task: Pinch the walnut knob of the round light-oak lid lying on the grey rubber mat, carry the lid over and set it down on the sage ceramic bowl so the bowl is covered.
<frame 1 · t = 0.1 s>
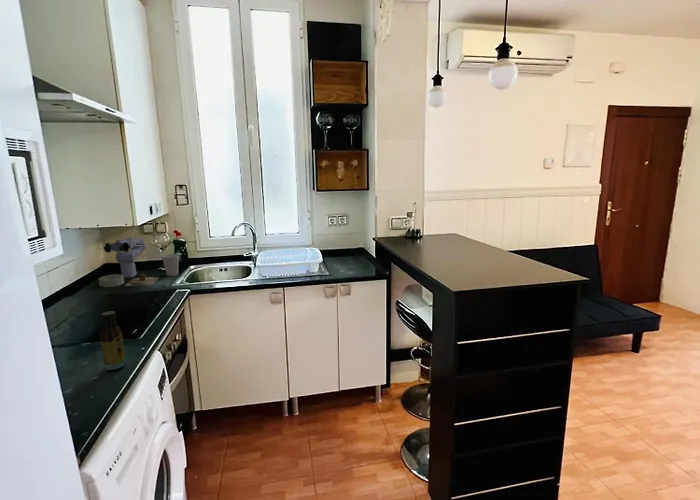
hand: (112, 248, 220), 22 cm above the worktop, tool horizontal, fingers open, 7 cm apart
bowl: (112, 284, 225), on the worktop
sauce bottle: (115, 368, 132), on the worktop
mat: (142, 282, 230), on the worktop
foam cup: (172, 275, 245), on the worktop
lid: (142, 281, 230), resting on mat
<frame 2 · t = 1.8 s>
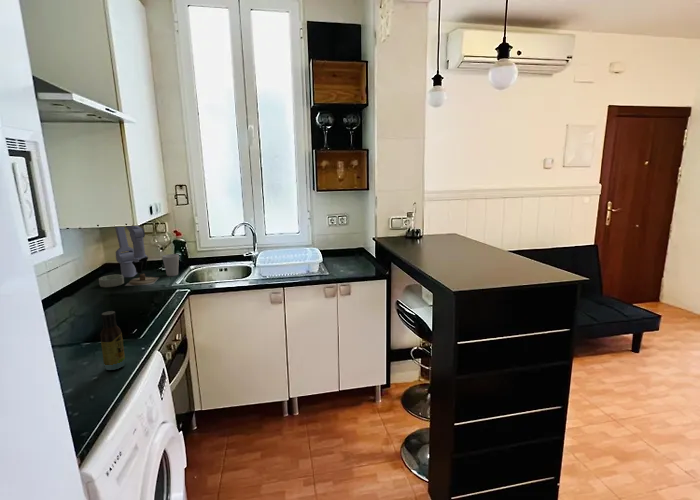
hand: (141, 271, 229), 7 cm above the worktop, tool pointing down, fingers open, 7 cm apart
nothing on the worktop moved.
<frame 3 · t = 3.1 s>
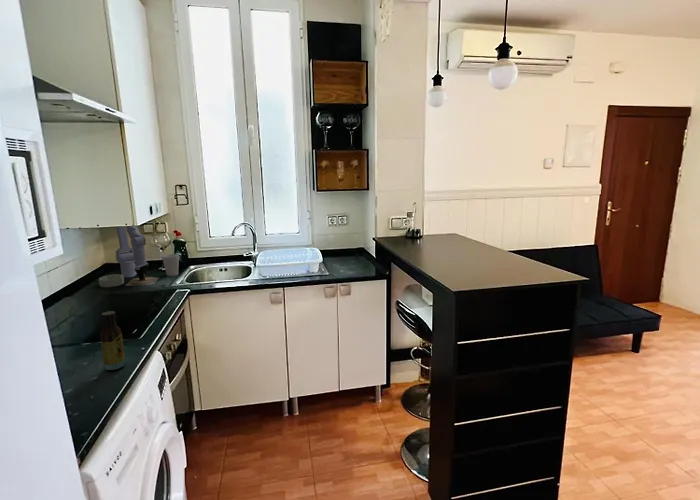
hand: (142, 278, 230), 2 cm above the worktop, tool pointing down, fingers closed on lid, 3 cm apart
lid: (142, 281, 230), resting on mat, touching gripper
everything else where it was.
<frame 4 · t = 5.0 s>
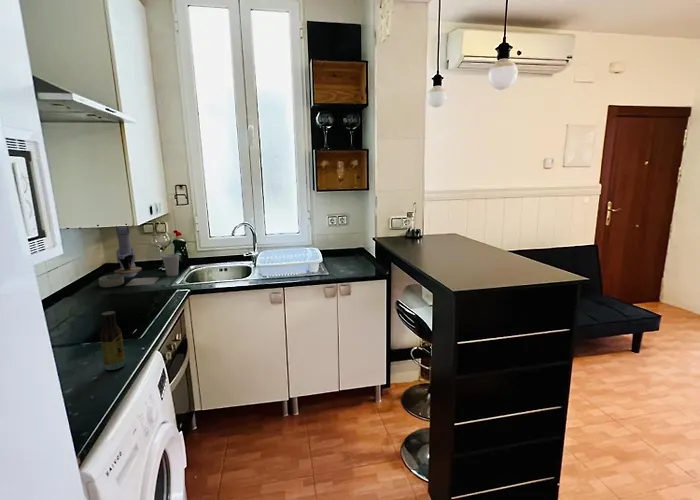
hand: (127, 268, 226), 9 cm above the worktop, tool pointing down, fingers closed on lid, 3 cm apart
lid: (128, 271, 227), point 7 cm above the worktop, touching gripper
everything else where it was.
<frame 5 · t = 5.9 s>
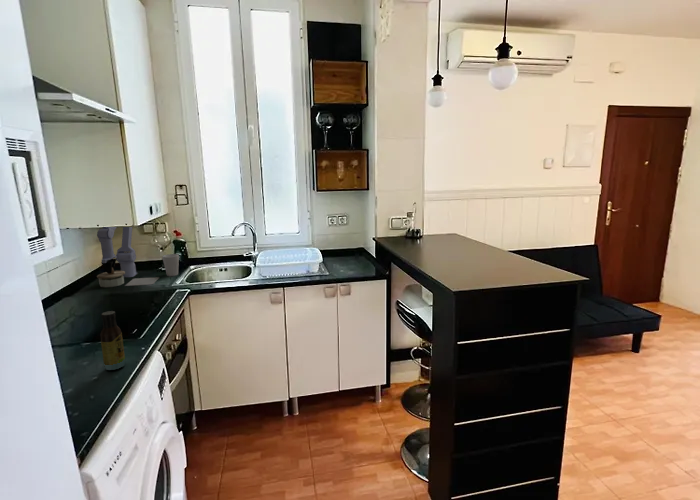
hand: (110, 272, 224), 8 cm above the worktop, tool pointing down, fingers closed on lid, 3 cm apart
lid: (111, 275, 224), point 6 cm above the worktop, touching gripper
everything else where it was.
when the fingers open (7 cm above the worktop, at t = 6.6 s): lid drops 1 cm, resting on bowl.
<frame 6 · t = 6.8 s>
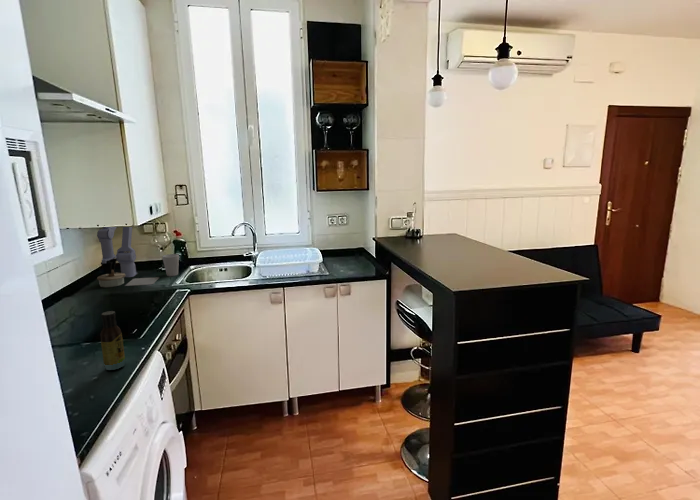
hand: (110, 272, 224), 7 cm above the worktop, tool pointing down, fingers open, 4 cm apart
lid: (111, 277, 224), point 4 cm above the worktop, touching bowl
everything else where it was.
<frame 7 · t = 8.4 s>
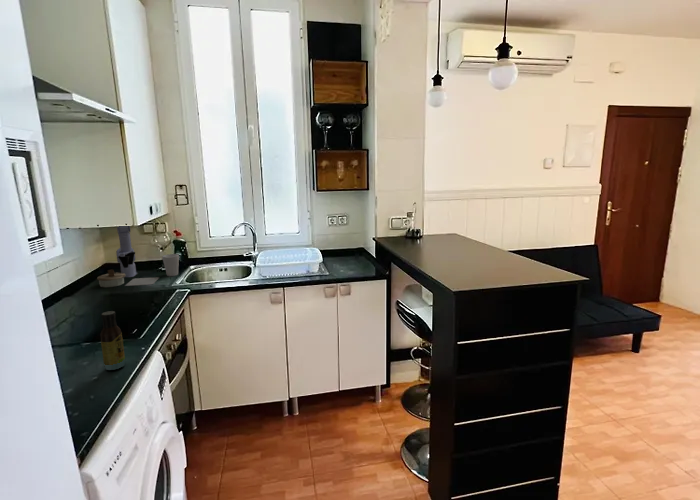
hand: (128, 265, 229), 10 cm above the worktop, tool pointing down, fingers open, 7 cm apart
nothing on the worktop moved.
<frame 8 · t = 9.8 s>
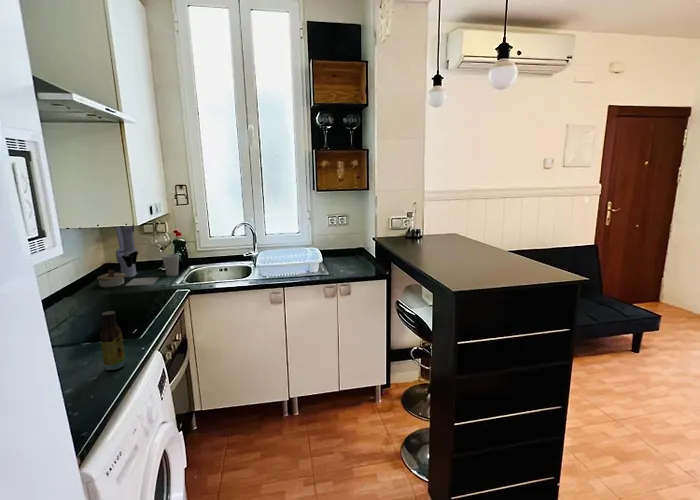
hand: (131, 265, 230), 10 cm above the worktop, tool pointing down, fingers open, 7 cm apart
nothing on the worktop moved.
at the end: lid 0.2 cm from the bowl (horizontally); lid point 4.5 cm above the worktop; lid tilted 0° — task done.
